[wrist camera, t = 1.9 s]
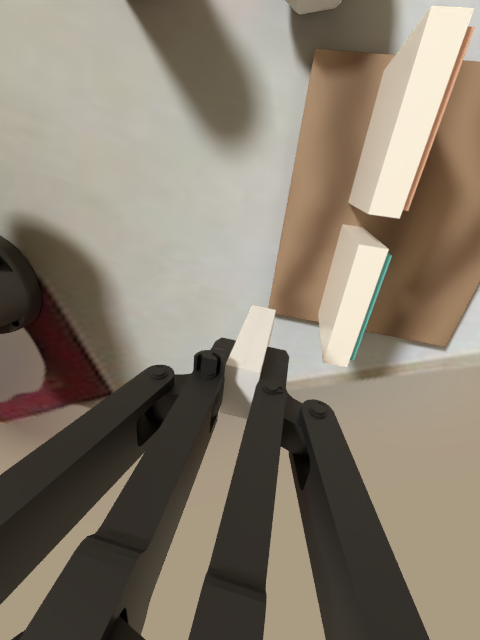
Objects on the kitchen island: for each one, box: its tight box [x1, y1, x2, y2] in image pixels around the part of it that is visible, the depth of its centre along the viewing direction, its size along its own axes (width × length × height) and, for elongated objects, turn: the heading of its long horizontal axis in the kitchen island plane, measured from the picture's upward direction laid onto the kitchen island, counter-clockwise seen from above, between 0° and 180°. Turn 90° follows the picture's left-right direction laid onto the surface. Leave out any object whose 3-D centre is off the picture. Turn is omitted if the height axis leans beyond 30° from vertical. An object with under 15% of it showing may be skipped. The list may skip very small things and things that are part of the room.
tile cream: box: [348, 6, 475, 219], centre depth 21 cm, size 2×10×10 cm, turn 173°
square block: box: [318, 224, 392, 367], centre depth 27 cm, size 2×10×10 cm, turn 173°
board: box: [268, 49, 480, 347], centre depth 29 cm, size 20×24×2 cm
